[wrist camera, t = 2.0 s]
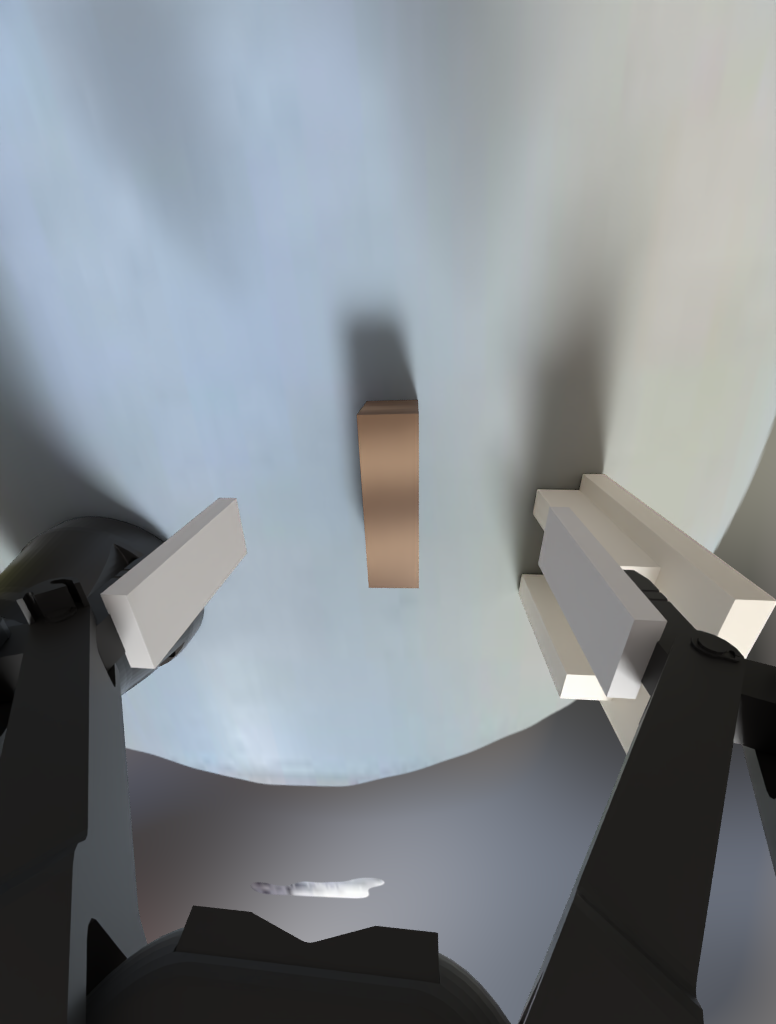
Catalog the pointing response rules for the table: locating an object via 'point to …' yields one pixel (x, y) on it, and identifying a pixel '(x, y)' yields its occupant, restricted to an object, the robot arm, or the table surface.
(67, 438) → the table surface
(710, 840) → the robot arm
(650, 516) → the white twin-rail base
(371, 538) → the brown rectangular block
